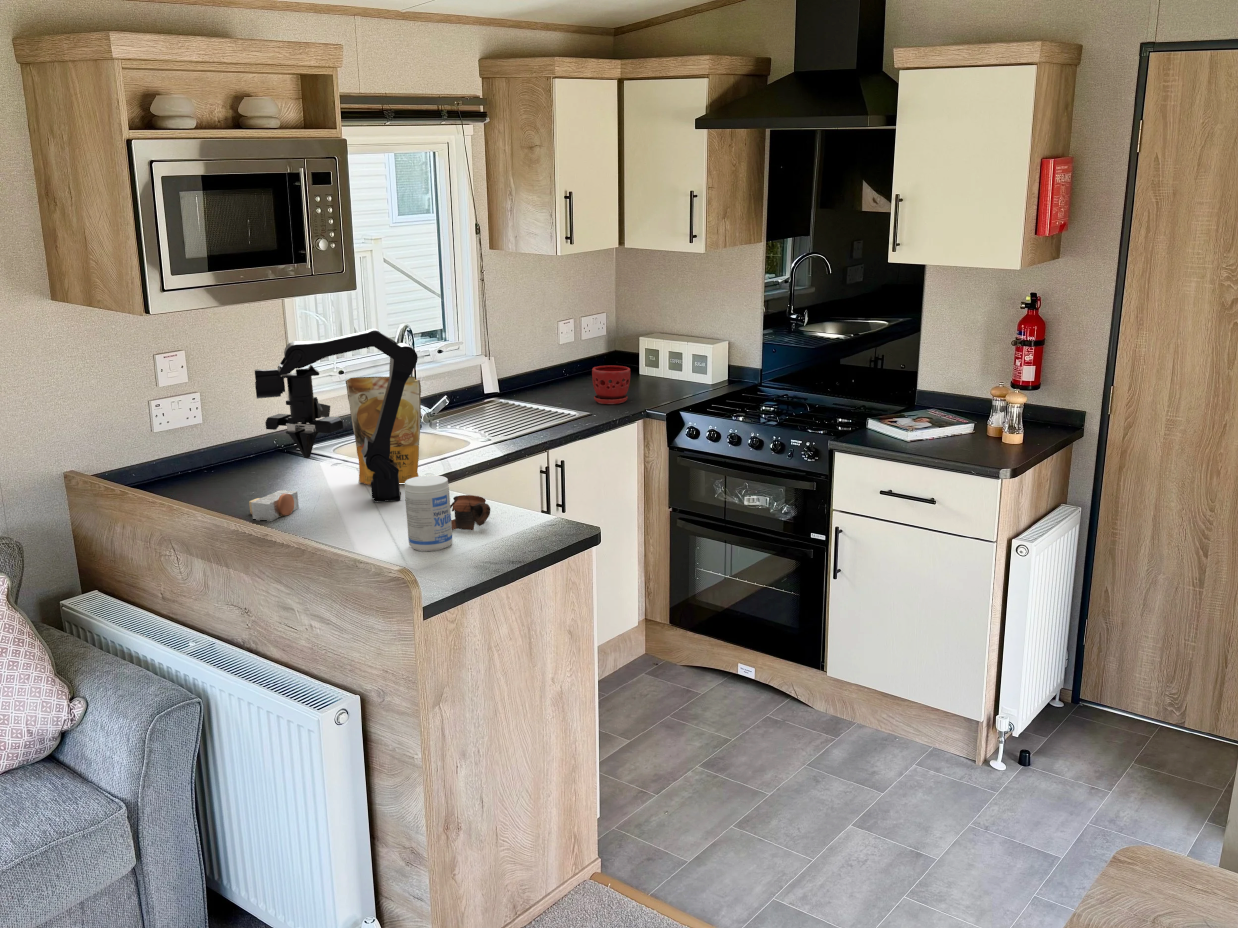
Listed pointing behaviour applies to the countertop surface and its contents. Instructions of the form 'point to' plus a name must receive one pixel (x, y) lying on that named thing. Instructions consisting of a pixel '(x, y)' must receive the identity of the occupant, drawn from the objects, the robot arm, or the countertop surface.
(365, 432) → the pancake mix bag
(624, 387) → the plant pot
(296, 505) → the block
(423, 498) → the supplement tub
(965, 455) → the countertop surface
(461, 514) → the pottery mug
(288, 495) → the lynch pin
